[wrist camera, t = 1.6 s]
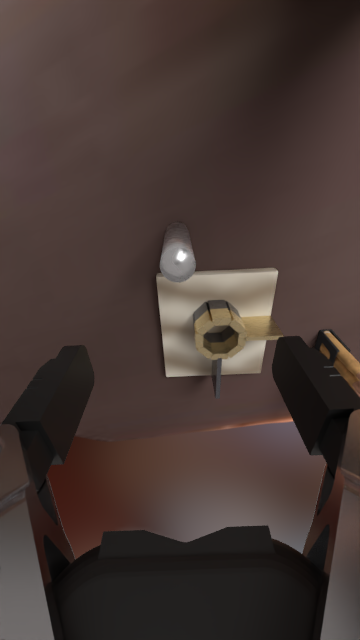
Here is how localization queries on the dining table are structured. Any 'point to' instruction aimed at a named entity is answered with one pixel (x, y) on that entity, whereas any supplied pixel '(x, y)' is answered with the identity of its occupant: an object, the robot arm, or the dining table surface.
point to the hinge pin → (177, 253)
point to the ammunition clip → (339, 357)
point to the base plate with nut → (217, 322)
